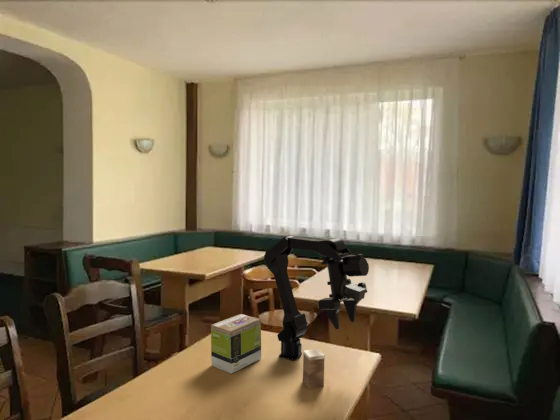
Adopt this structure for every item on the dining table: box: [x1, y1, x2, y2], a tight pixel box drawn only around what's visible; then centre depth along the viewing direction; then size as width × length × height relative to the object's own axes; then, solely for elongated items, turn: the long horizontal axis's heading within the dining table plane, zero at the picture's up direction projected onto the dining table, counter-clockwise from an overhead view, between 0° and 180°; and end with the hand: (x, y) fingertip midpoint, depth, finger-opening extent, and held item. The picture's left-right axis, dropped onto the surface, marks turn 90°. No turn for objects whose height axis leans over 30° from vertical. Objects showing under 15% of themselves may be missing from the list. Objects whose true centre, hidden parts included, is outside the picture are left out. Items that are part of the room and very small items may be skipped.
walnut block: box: [302, 348, 326, 390], centre depth 134 cm, size 5×5×10 cm
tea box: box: [210, 313, 262, 374], centre depth 147 cm, size 15×10×15 cm, turn 141°
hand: (345, 325), depth 139 cm, fingers open, 9 cm apart
